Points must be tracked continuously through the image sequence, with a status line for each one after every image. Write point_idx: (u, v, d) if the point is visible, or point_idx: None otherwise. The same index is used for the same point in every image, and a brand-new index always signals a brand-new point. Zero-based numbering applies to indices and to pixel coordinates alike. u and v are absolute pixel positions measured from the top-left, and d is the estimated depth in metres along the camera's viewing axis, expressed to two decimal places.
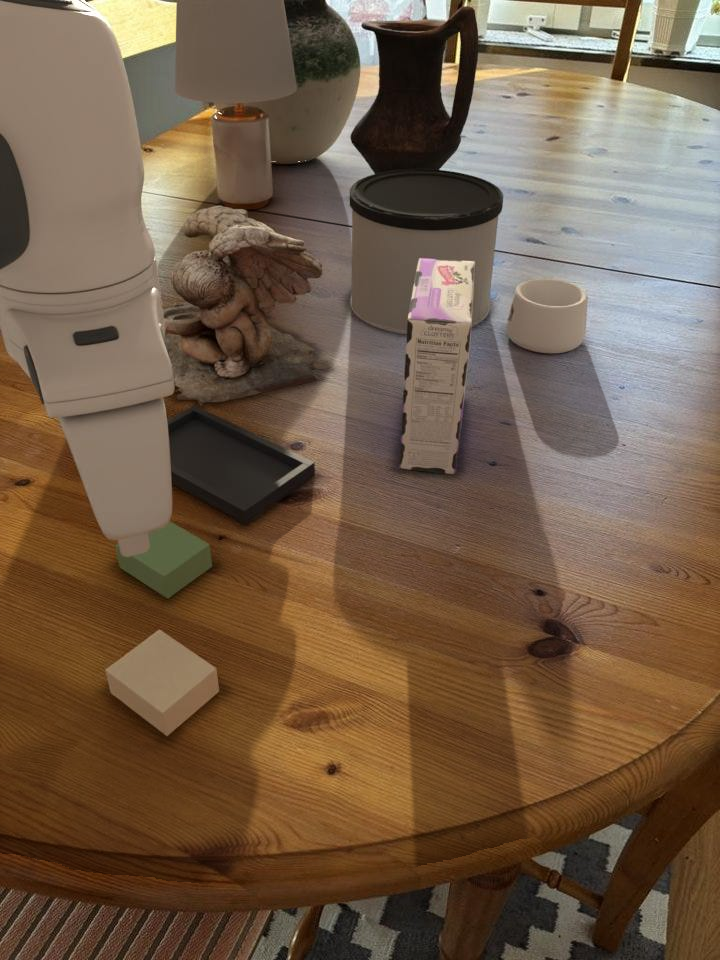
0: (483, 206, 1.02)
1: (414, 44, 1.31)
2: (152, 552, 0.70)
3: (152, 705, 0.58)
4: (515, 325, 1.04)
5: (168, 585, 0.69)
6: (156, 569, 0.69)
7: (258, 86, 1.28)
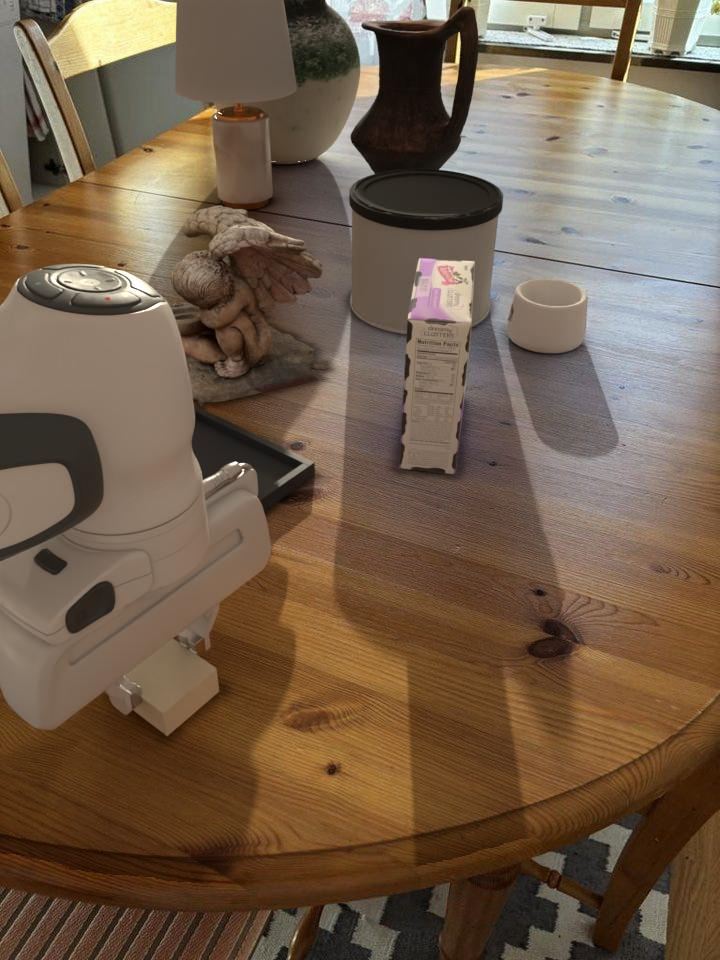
0: (483, 206, 1.02)
1: (414, 44, 1.31)
2: None
3: (152, 705, 0.58)
4: (515, 325, 1.04)
5: None
6: None
7: (258, 86, 1.28)
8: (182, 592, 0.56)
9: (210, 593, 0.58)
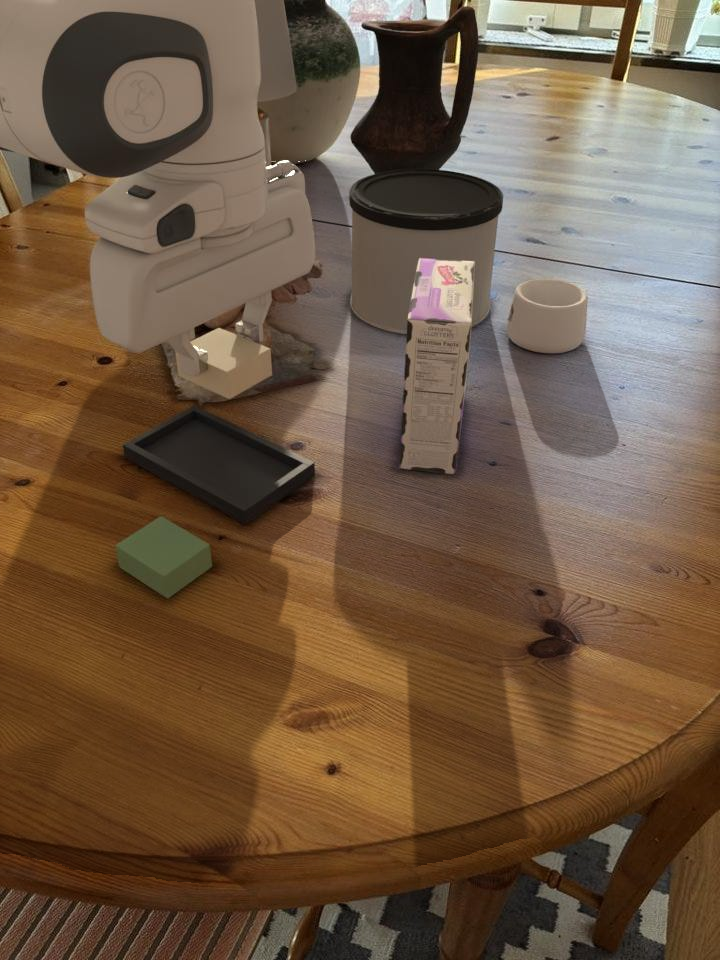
0: (483, 206, 1.02)
1: (414, 44, 1.31)
2: (152, 552, 0.70)
3: (217, 368, 0.67)
4: (515, 325, 1.04)
5: (168, 585, 0.69)
6: (156, 569, 0.69)
7: None
8: (244, 261, 0.66)
9: (266, 274, 0.68)
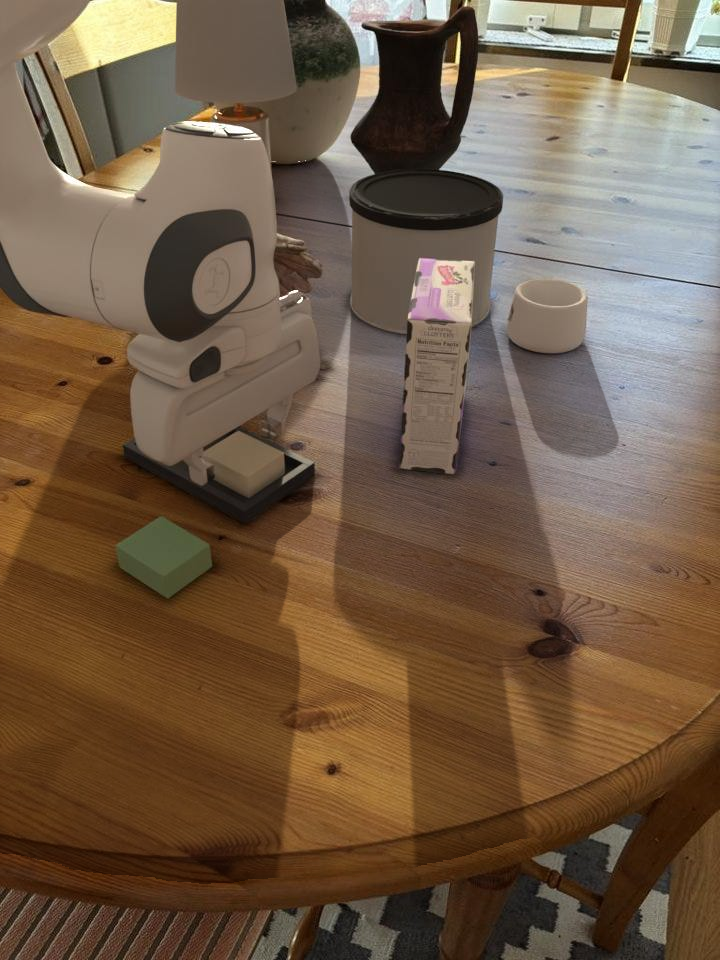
0: (483, 206, 1.02)
1: (414, 44, 1.31)
2: (152, 552, 0.70)
3: (238, 473, 0.78)
4: (515, 325, 1.04)
5: (168, 585, 0.69)
6: (156, 569, 0.69)
7: (258, 86, 1.28)
8: (259, 380, 0.76)
9: (277, 388, 0.79)
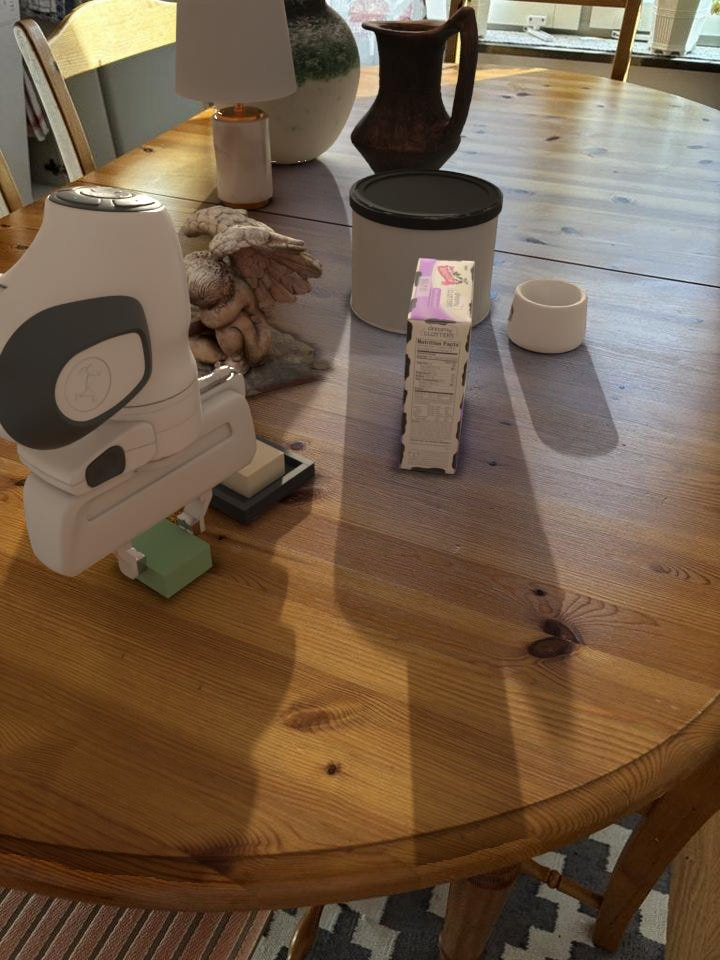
0: (483, 206, 1.02)
1: (414, 44, 1.31)
2: (152, 552, 0.70)
3: (238, 473, 0.78)
4: (515, 325, 1.04)
5: (168, 584, 0.69)
6: (156, 569, 0.69)
7: (258, 86, 1.28)
8: (181, 471, 0.67)
9: (204, 477, 0.69)
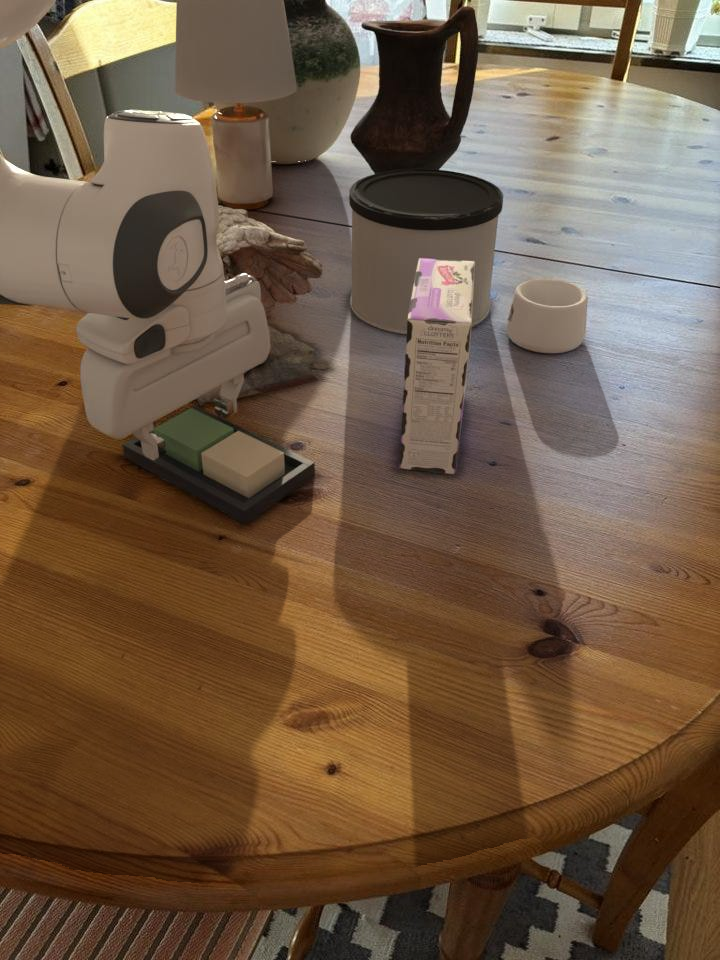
0: (483, 206, 1.02)
1: (414, 44, 1.31)
2: (185, 433, 0.83)
3: (238, 473, 0.78)
4: (515, 325, 1.04)
5: (199, 459, 0.82)
6: (189, 445, 0.82)
7: (258, 86, 1.28)
8: (208, 359, 0.79)
9: (227, 367, 0.82)
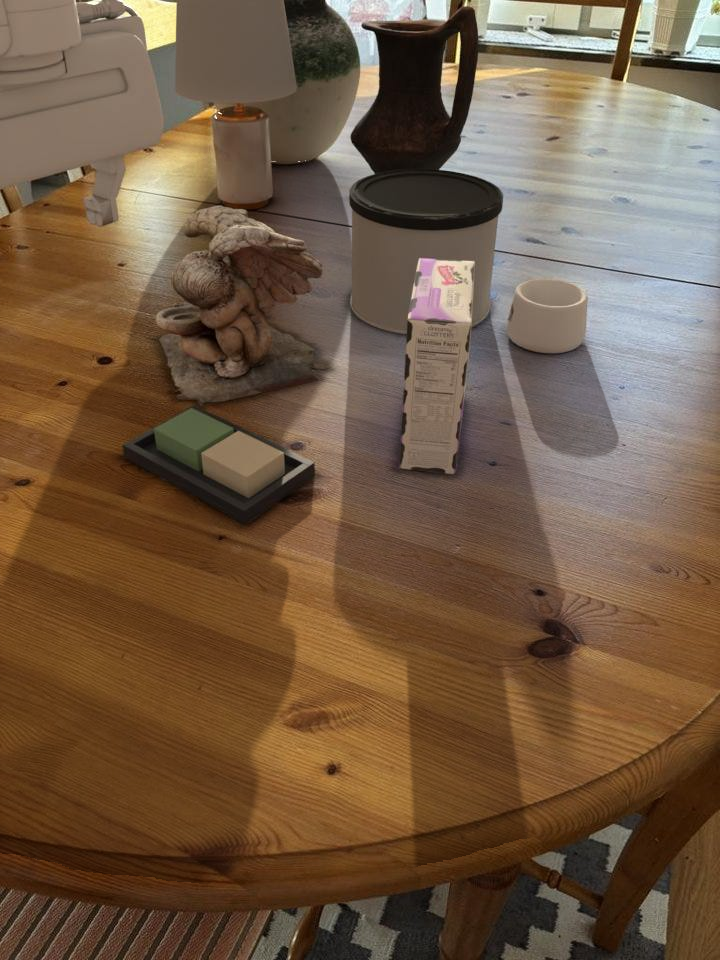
0: (483, 206, 1.02)
1: (414, 44, 1.31)
2: (185, 433, 0.83)
3: (238, 473, 0.78)
4: (515, 325, 1.04)
5: (199, 459, 0.82)
6: (189, 445, 0.82)
7: (258, 86, 1.28)
8: (58, 114, 0.54)
9: (92, 137, 0.56)
